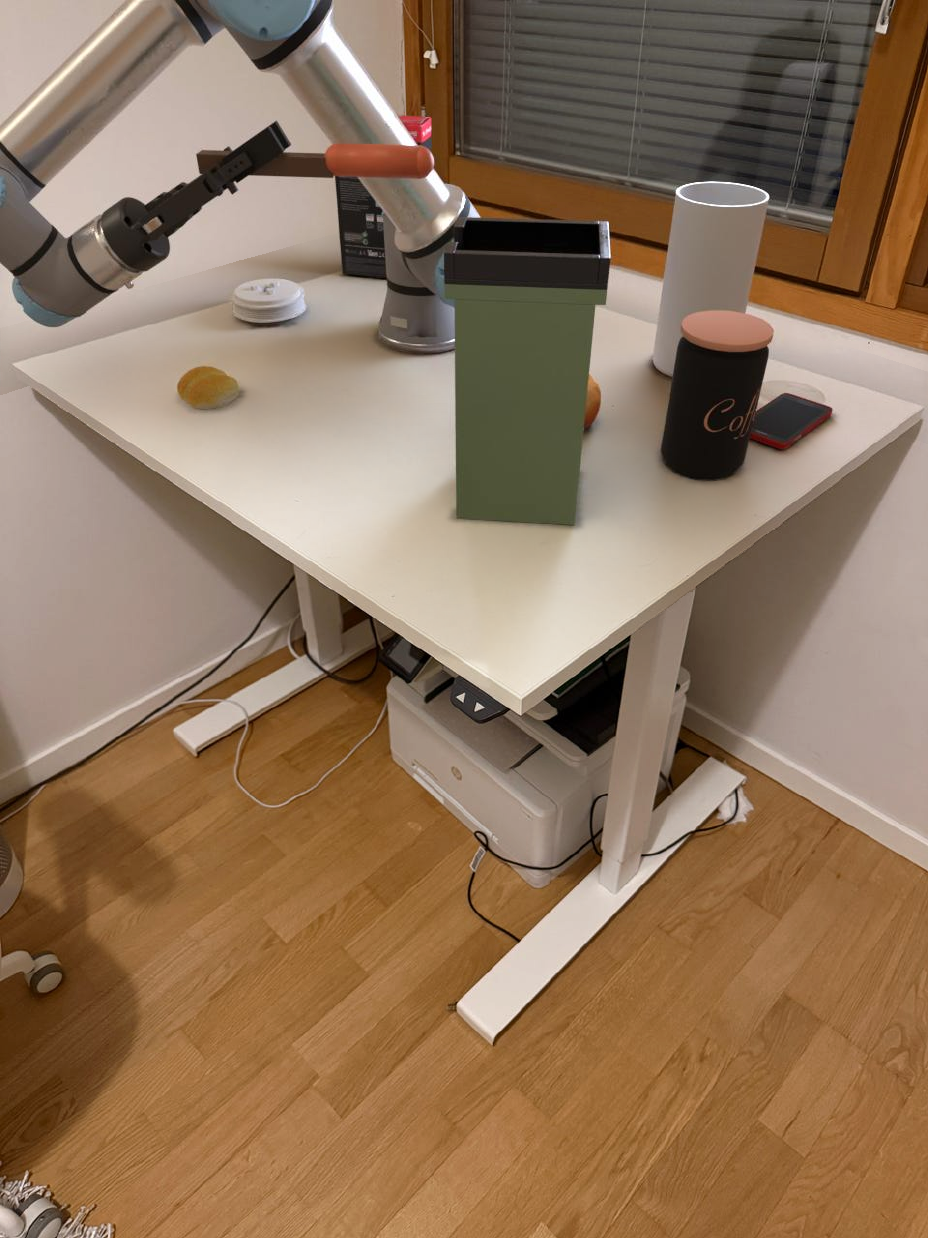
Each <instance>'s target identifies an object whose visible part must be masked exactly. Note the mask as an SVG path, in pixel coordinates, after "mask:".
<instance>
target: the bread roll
mask: <svg viewBox="0 0 928 1238" xmlns="http://www.w3.org/2000/svg"><path fill="white" fill-rule="evenodd" d="M176 391H177V393H178V396H179V397H180V398H181V399H182V401H184V402H186V403H188V404H189V406H190V407H192V408H193V409H197V410H211V409H212V410H213V409H218V408H223V407H225V406H228V405H229V404H231V403H233V402H234V401H235V400H236V399H237V398H238V396H239V394H240V385H239V383H238V380H236V379H235V378H234V377H232V376H230V375H228V374H227V373H226V372H224V371H223V370H222V369H220V368H218V367H215V366H212V365H211V366H210V365H209V366H208V365H207V366H206V365H202V366H196V367H193V368H192V369H189V370H188V371H187V372H186V373H184V374H183V375H182V376H181V377H180V378H179V380H178V382H177V385H176Z"/></svg>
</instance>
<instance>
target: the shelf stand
mask: <svg viewBox="0 0 928 1238" xmlns="http://www.w3.org/2000/svg"><path fill="white" fill-rule="evenodd" d="M607 296H608V289H607V290H598V289H570V288H542V287H515V286H487V285H460V284H444V298H445V299H455V300H454V306H455V349H454V407H455V409H454V413H455V415H454V417H455V419H454V420H455V421H454V422H455V423H454V425H455V427H454V428H455V431H454V432H455V513H456V514H455V518H456V519H460V520H461V519H463V520H478V521H495V522H496V521H497V522H498V521H499V522H510V523H511V522H512V523H529V524H530V523H531V524H544V525H562V526H575V525H576V524H575V523H576V514H577V503H578V493H579V483H580V473H581V472H580V471H581V464H582V463H581V461H582V453H583V452H582V451H583V441H584V430H585V428H584V421H585V410H586V400H587V389H588V379H589V374H590V367H591V357H592V347H593V346H592V345H593V335H594V325H595V316H596V306H606V305H607V298H608V297H607Z"/></svg>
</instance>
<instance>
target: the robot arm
mask: <svg viewBox="0 0 928 1238" xmlns="http://www.w3.org/2000/svg"><path fill="white" fill-rule="evenodd" d="M334 9H335V0H125V1H123V3H122V4H120V6H118V8H117V9H116V10H114V12H112V14H110V16H109V17H108V18H107V19H106V20H104V21H103V23H102V24H101V25H99V27H98V28H96V29H95V30H94V32H92V34H91V35H90V36H88V37H87V39H85V41H83V42H82V43H81V44H80V45H79V46H78V47H77V49H75V51H74V52H72V53H71V54H70V55H69V56H68V58H66V59H65V60H64V61H63V62H62V63H61V64H60V66H59V67H57V68H56V69H55V70H54V72H52V73H51V74H50V75H49V76H48V77H47V78H46V79H45V80H44V81H43V82H42V83H41V84H40V85H39V86H38V87H37V88H36V89H35V90H34V91H33V92H32V93H31V94H30V95H29V96H28V97H27V98H26V99H25V100H24V101H23V102H22V103H21V104H20V105H19V106H18V107H16V109H15V110H14V111H13V112H12V113H11V114H10V115H9V116H8V117H7V118H6V119H5V120H4V121H3V122H2V123H1V124H0V264H1V266H3V267H4V268H5V269H7V270H8V272H9V273H11V274H12V276H13V279H12V282H11V290H12V294H13V298H14V300H15V301H16V303H17V304H19V305H21V307H22V308H23V310H22V311H23V312H24V314H25V315H26V316H28V317H29V319H31V320H32V321H34V322H35V323H37V324H39V325H41V326H44V327H47V328H60V327H62V326H63V325H66V324H68V323H69V322H71V321H73V320H75V319H77V318H80V317H82V316H84V315H86V313H87V312H89V311H90V310H92V308H94V307H95V306H97V305H98V304H100V303H101V302H103V301H104V300H105V299H107V298H108V297H111V295H113V294H115V293H116V292H117V291H119V290H120V289H121V288H123V287H124V286H125V287H126V288H127V289H128V290H129V289H132V288H134V286H135V284H134V282H133V281H134V280H135V279H137V278H138V277H141V275H142V274H143V273H144V272H148V271H150V270H151V269H152V268H154V267H156V266H157V265H159V264H160V263H162V262H163V261H165V260H166V259H168V257H169V255H170V251H171V243H170V238H169V237H171V236H172V235H174V234H175V233H176V232H177V231H179V229H181V228H182V227H184V226H185V225H186V223H187V222H188V221H190V220H191V219H192V218H194V216H196V215H197V214H199V212H201V211H202V209H203V206H205V205H206V204H208V203H209V202H210V201H211V202H212V200H214V199H215V198H216V197H221V196H223V194H224V192H225V191H226V190H227V189H228V192H229V193H230V194H231V195H234V194H235V193H236V192H237V193H238V191H239V189H238V187H237V185H236V184H239V183H240V182H241V181H243V180H244V179H246V178H247V177H249V176H250V174H252V173H253V172H254V171H256V170H257V169H259V168H260V167H262V166H263V165H265V164H266V163H268V162H269V161H271V160H272V159H274V158H275V157H277V156H278V155H280V154H281V153H283V152H285V151H286V150H287V149H288V148H290V147H291V146H292V143H291V141H290V140H289V138H288V136H287V134H286V133H285V132H284V130H283V128H282V127H281V124H280V123H279V122H278V120H275V121H274V122H272V123H271V124H269V125H268V126H266V127H265V128H263V129H262V130H261V131H259V132H257V134H255V135H253V136H252V137H251V138H249V139H248V140H246V141H245V142H244V143H242V144H241V145H239V146H237V147H236V148H235V149H234V150H232V148H231V146H229V145H228V146H227V147H225V148H224V149H223V151H233V152H231V153H230V154H228V155H227V156H225V157H224V158H223V159H221V160H222V162H223V163H224V166H222V164H221V163H216V164H214V165H213V167H212V168H211V169H210V170H206V171H204V172H203V174H199V175H198V176H197V177H196V178H194V179H193V180H191V181H190V182H188V183H187V182H185V181H182V182H180V183H179V184H177V185H176V186H174V187H173V188H171V189H170V190H169V191H163V192H161V193H160V194H159V195H157V196H155V197H154V198H153V199H152V200H150V201H149V202H146V204H145V203H144V202H142V201H141V200H139V199H138V198H135V197H130V196H127V197H123V198H121V199H120V200H118V201H117V202H116V203H114V204H112V205H111V206H110V207H108V208H107V209H106V210H104V211H103V212H102V213H101V214H98V215H96V216H95V217H94V218H92V219H90V221H88V222H87V223H84V225H82V226H81V227H80V228H78V229H77V230H76V231H74V232H73V233H72V234H71V235H70V236H68V237H65V236H64V235H63V234H62V233H61V232H60V231H59V229H57V228H56V226H54V224H51V223H50V221H49V220H47V218H46V217H44V215H43V214H41V212H40V211H39V210H37V208H36V207H35V206H34V205H32V204H31V202H32V200H33V199H35V198H36V196H38V195H39V194H40V193H41V192H42V190H43V189H44V188H46V186H47V184H49V183H50V182H51V181H52V180H53V179H54V178H55V177H56V176H57V175H58V174H59V173H61V171H62V170H63V169H64V168H66V166H67V165H69V164H70V162H71V161H73V160H74V159H75V158H76V157H77V156H78V155H79V154H80V153H81V152H82V151H83V150H84V149H85V148H86V147H87V146H88V145H89V144H90V143H91V142H92V141H93V140H94V139H95V138H96V137H97V136H98V135H99V134H100V133H101V132H102V131H103V130H105V129H106V128H107V126H109V124H110V123H112V121H114V120H115V119H116V118H117V117H118V116H119V115H120V114H121V113H122V112H123V111H124V110H125V109H126V108H127V107H128V106H129V105H130V104H131V103H132V102H133V101H135V100H136V98H137V97H138V96H140V94H141V93H142V92H144V90H145V89H147V88H148V87H149V86H150V85H151V84H152V83H153V82H154V81H155V80H156V79H157V78H158V77H159V76H160V75H161V74H162V73H163V72H164V71H165V70H166V69H167V68H168V67H169V66H171V64H172V63H173V62H174V61H175V60H177V58H178V57H180V56H181V55H182V54H183V53H184V52H185V51H186V50H187V49H188V48H189V47H192V46H195V47H204V46H205V45H206V44H208V42H209V41H210V40H212V38H213V37H215V36H216V35H217V34H218V33H220V32H221V31H223V30H224V29H226V31H227V32H228V33H229V34H230V36H231V37H232V38H233V39H234V41H235V42H236V43H237V45H238V46H239V48H241V50H242V51H243V52H244V53H245V55H246V56H247V57H248V59H249V60H250V61H251V62H252V63H253V65H254V66H255V67H256V69H257V70H258V71H259V72H261V73H265V74H274V75H278V76H279V77H280V78H281V80H282V82H283V83H285V85H286V86H287V88H288V89H289V90H290V92H291V93H292V94H293V95H294V97H295V98H296V100H298V102H299V103H300V104H301V106H302V107H303V108H304V110H305V111H306V113H307V114H308V115H309V116H310V117H311V119H312V120H313V121H314V123H315V125H317V127H318V128H319V130H320V131H321V132H322V134H324V136H325V137H326V138H327V140H328V141H329V142H330V144H331V145H333V144H335V143H349V144H385V145H417V144H416V142H415V141H414V139H413V138H412V136H411V135H410V133H409V132H408V131H407V129H406V128H405V126H404V125H403V123H402V122H401V120H400V119H399V117H398V116H397V115H398V114H397V113H396V111H395V109H394V108H393V107H392V106H391V105H390V103H389V101H388V99H387V98H386V97H385V95H384V94H383V93H382V90H380V89H379V86H378V85H377V84H376V83H375V81H374V80H373V78H372V77H371V74H370V73H369V72H368V71H367V69H366V68H365V66H364V65H363V63H362V62H361V60H360V59H359V58H358V56H357V54H356V53H355V51H354V50H353V49H352V48H351V46H350V45H349V43H348V42H347V40H346V39H345V37H344V36H343V34H342V33H341V31H340V30H339V29H338V27H337V26H336V24H335V23H334V12H335V11H334ZM214 172H215V173H214ZM358 179H359V180H360V181H361V183H362V184H363V185H364V186H365V188H366V189H367V190H368V192H369V193H370V194H371V196H372V197H373V198H374V199H375V201H376V202H377V203H378V205H379V206H380V207H381V209H382V210H383V212H382V217H383V227H384V243H385V260H386V276H387V278H386V294H385V299H384V302H383V308H382V313H381V316H380V318H379V321H378V339H379V341H380V342H381V343H382V344H383V345H384V346H386V347H388V348H390V349H392V350H395V351H398V352H404V353H409V354H436V353H443V352H447V351H451V350H455V306H454V300H455V299H445V298H444V251H445V249H446V246H447V243H448V242H454V225H455V223H456V220H457V218H458V217H474V218H482V217H481V216H480V214H479V212H478V211H477V210H476V208H475V207H474V205H473V203H472V202H471V201H470V199H469V198H468V196H467V195H466V193H465V192H464V191H463V189H462V188H461V187H460V186H458V185H454V184H451V183H445V182H444V181H443V180H442V179H441V177H440V175H439V174H438V173H437V171H436V170H435V168H433V170H432V172H431V173H430V175H428V176H427V177H426V178H423V179H407V178H374V177H358ZM235 183H236V184H235Z"/></svg>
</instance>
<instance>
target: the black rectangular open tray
mask: <svg viewBox="0 0 928 1238" xmlns="http://www.w3.org/2000/svg"><path fill="white" fill-rule="evenodd" d="M610 243H611V242H610V229H609V221H607V220H605V221H602V220H601V221H599V220H571V219H570V220H569V219H536V218H509V217H508V218H505V217H502V218H501V217H499V218H498V217H481V218H474V217H458V218H457V220H456V223H455V225H454V242H448V243H447V246H446V249H445V251H444V284H460V285H487V286H515V287H542V288H570V289H598V290H607V291H608V288H609V277H610V270H611V269H610V267H611V258H612V257H611V245H610Z"/></svg>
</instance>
